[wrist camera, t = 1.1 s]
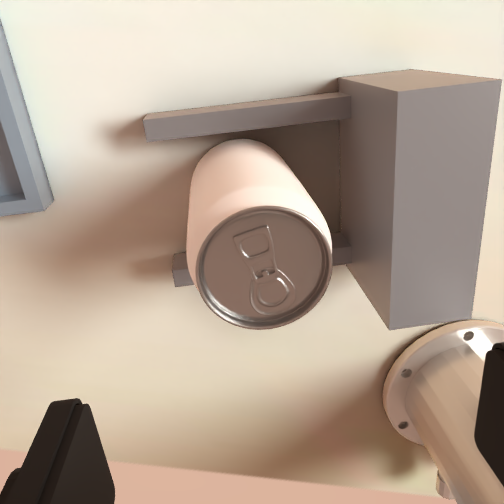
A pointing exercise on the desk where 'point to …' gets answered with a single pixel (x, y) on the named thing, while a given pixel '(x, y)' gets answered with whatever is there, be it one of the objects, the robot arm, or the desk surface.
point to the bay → (389, 181)
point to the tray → (18, 147)
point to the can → (255, 237)
